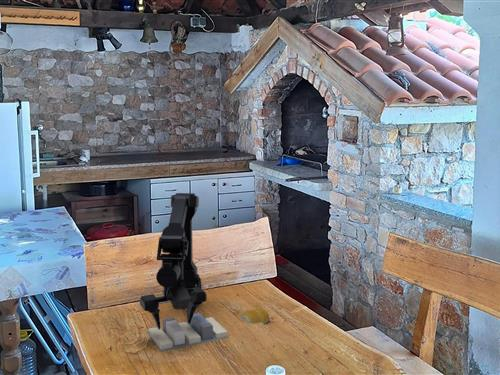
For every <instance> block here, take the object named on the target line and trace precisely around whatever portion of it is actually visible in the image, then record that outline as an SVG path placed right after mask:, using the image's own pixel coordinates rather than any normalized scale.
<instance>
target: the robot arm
mask: <svg viewBox="0 0 500 375" xmlns="http://www.w3.org/2000/svg"><path fill="white" fill-rule="evenodd" d="M199 199H200V198H199V196H198V195H196V193H191V192H190V193H189V192H187V193H185V192H176V193H175V194H173V195H170V207H171V213H170V218H169V222H168V225H166V227H165V228H163V229H162V233H161V236H159V237H158V245H157V252H156V261H161V266H160V268H158V270H157V273H156V276H155V278H156V282H157V284H158V285H159V286H161V287H163V290H162V295H163V296H159V297H157V296H156V295H154V293H152V294H146V295H141V297H140V299H139V306H140V307H141V308H142V309H143V310H144V311H145V312H148V313H149V314H151V315H152V318H153V320H154V323H155V326H156V327H157V328H158V329H159V330H160V328H161V320H160V312H161V310H160V309H159V307H160V305H163V304H168V303H171V305H172V308H173V309H174V310H180V309H181V310H182V309H186V319H187V321H186V322H187V323H188V324H190V322H191V320H192V317H193V314H195V312H196V310H197V308H198V307H199V306H200V305H202V304H203V302H204V303H205V302H207V298H208V296H207V292H206V291H204V290H203V289H202V288H203V284H202V279H201V277H200V274H198V267H197V265H196V264H195V262H194V259H193V258H194V256H193V253H194V251H193V218H194V217H195V214H197V211H198V208H199V205H200V204H199V203H200V200H199Z"/></svg>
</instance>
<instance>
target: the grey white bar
mask: <svg viewBox="0 0 500 375" xmlns="http://www.w3.org/2000/svg"><path fill="white" fill-rule="evenodd" d="M178 323H179V322H178V321H177V320H176V319H175V317H173V316H172V317H168V318H162V329H163V331H164V333H165V334H166V335H167V336H168V337H169V339H170V340H171V341H172V342H173V344H174V345H179V344H184V343H185V330H184V329H183V328H182V327H181V326H180V325H179V324H178Z"/></svg>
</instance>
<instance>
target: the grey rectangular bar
mask: <svg viewBox="0 0 500 375" xmlns="http://www.w3.org/2000/svg"><path fill="white" fill-rule="evenodd" d="M205 318H206V317H204V316H203V315H202V314H201V313H200V312H198V313H194V314H193V317H192V320H191V322H190V326H191V327H192V328H193V329H194V330H195V331H196V333H197V334H198V335H199V336H200V337H201V339H202V340H207V339H212V338H213V325H212V324H211V323H209V322H208V321H207V320H206V319H205Z"/></svg>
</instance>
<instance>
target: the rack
mask: <svg viewBox="0 0 500 375" xmlns="http://www.w3.org/2000/svg"><path fill="white" fill-rule="evenodd" d="M204 318H205V319H206V320H207V321H208V322H209V323H211V324H212V325H213V338H212V339H207V340H202V339H201V337H200V336H199V335H198V334H197V333H196V331H195V330H194V329H193V328H192V327H191V326H190V324H188V322H187V321H184V322H183V321H182V322H177V323H178V324H179V325H180V326H181V327H182V328H183V329H184V330H185V343H184V344H179V345H174V344H173V342H172V341H171V340H170V339H169V337H168V336H167V335H166V334H165V333H164V331H163V328H161V327H160V330H159V329H158V328H157V326H156V327H155V326H154V327H151V328H148V331H147V332H146V334H147V335H148V336H149V338H150V339H151V340H152V341H153V343H154V344H155V345H156V347H157V348H158V349H159V351H160V352H161V353H162V352H167V351H172V350H177V349H181V348H186V347H190V346H195V345H200V344H201V345H202V344H204V343H210V342H211V343H212V342H215V341H220V340H226V339H229V338H230V336H229V335H228V331H227V330H226V329H225V328H224V327H223V326H222V325H221V324H220V323H219V322H217V321H216V319H215V318H214V317H212V316H211V317H204Z"/></svg>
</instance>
